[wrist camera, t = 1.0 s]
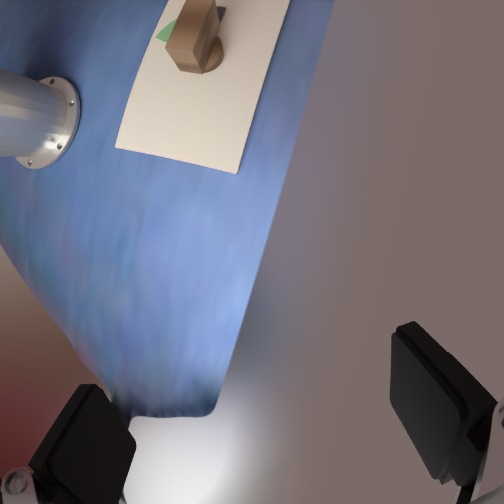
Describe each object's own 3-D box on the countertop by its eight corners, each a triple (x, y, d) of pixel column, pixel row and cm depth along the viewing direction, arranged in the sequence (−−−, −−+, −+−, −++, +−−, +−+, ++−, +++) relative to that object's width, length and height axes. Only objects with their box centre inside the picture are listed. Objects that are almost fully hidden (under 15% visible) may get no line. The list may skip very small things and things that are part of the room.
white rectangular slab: (237, 174, 31) (236, 174, 30) (120, 148, 31) (114, 147, 29) (290, -1, 26) (292, -8, 24) (183, -18, 25) (181, -24, 23)
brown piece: (215, 83, 27) (203, 52, 19) (176, 76, 27) (153, 47, 19) (240, 12, 25) (238, -29, 17) (203, 7, 25) (192, -33, 17)
